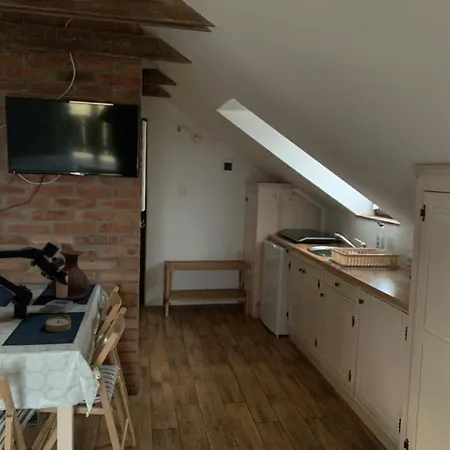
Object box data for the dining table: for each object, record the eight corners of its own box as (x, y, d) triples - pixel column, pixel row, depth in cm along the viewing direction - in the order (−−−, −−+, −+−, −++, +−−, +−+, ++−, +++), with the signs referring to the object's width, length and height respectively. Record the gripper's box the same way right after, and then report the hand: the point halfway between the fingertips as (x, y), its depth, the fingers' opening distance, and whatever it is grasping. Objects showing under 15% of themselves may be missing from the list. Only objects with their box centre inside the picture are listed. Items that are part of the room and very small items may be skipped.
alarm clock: (44, 326, 227) (47, 311, 241) (44, 336, 228) (47, 321, 242) (70, 325, 230) (71, 311, 244) (70, 335, 231) (71, 320, 245)
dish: (65, 312, 259) (65, 307, 258) (40, 310, 261) (40, 305, 261) (77, 305, 272) (77, 300, 272) (53, 303, 275) (53, 298, 274)
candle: (67, 297, 263) (68, 270, 261) (56, 298, 261) (57, 271, 259) (66, 294, 268) (67, 268, 266) (55, 295, 266) (56, 269, 264)
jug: (95, 294, 298) (96, 244, 295) (81, 303, 277) (82, 249, 274) (60, 291, 300) (60, 242, 297) (43, 300, 279) (44, 247, 276)
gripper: (64, 255, 253) (83, 275, 262) (46, 250, 265) (65, 269, 274) (49, 273, 248) (69, 291, 257) (32, 266, 260) (51, 285, 269)
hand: (64, 283), depth 265 cm, fingers closed on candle, 6 cm apart
